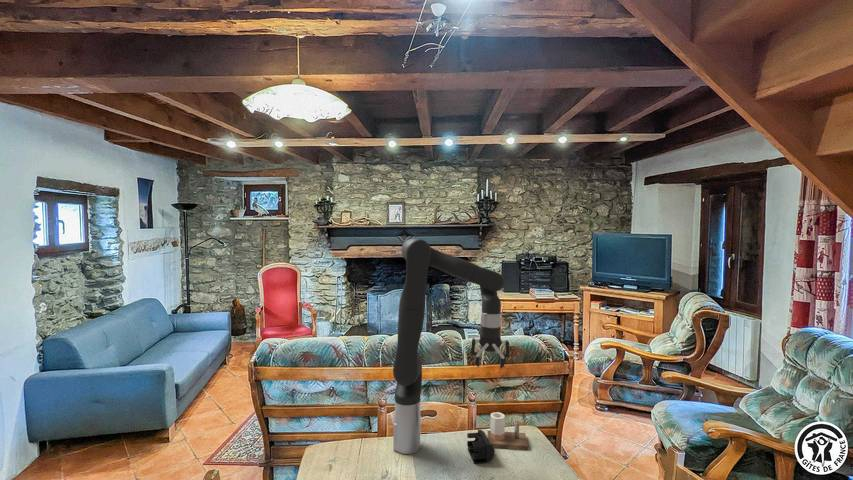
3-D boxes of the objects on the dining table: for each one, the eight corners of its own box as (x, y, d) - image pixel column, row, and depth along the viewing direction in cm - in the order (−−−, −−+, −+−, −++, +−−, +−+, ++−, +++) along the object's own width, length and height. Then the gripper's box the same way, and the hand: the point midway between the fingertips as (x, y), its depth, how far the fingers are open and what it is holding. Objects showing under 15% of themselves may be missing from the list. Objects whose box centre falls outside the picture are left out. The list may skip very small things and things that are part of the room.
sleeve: (490, 439, 143) (491, 418, 143) (490, 432, 148) (490, 411, 148) (504, 440, 143) (505, 419, 142) (503, 433, 148) (503, 412, 147)
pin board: (488, 447, 141) (488, 427, 141) (487, 434, 150) (487, 415, 150) (528, 450, 139) (528, 430, 139) (524, 436, 148) (525, 417, 148)
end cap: (495, 463, 132) (495, 443, 131) (474, 465, 131) (474, 445, 130) (485, 447, 142) (486, 428, 141) (466, 448, 140) (466, 430, 140)
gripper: (471, 325, 144) (470, 369, 145) (511, 327, 142) (509, 372, 143) (471, 321, 152) (470, 362, 152) (509, 322, 150) (508, 364, 150)
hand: (489, 367), depth 148 cm, fingers open, 8 cm apart
